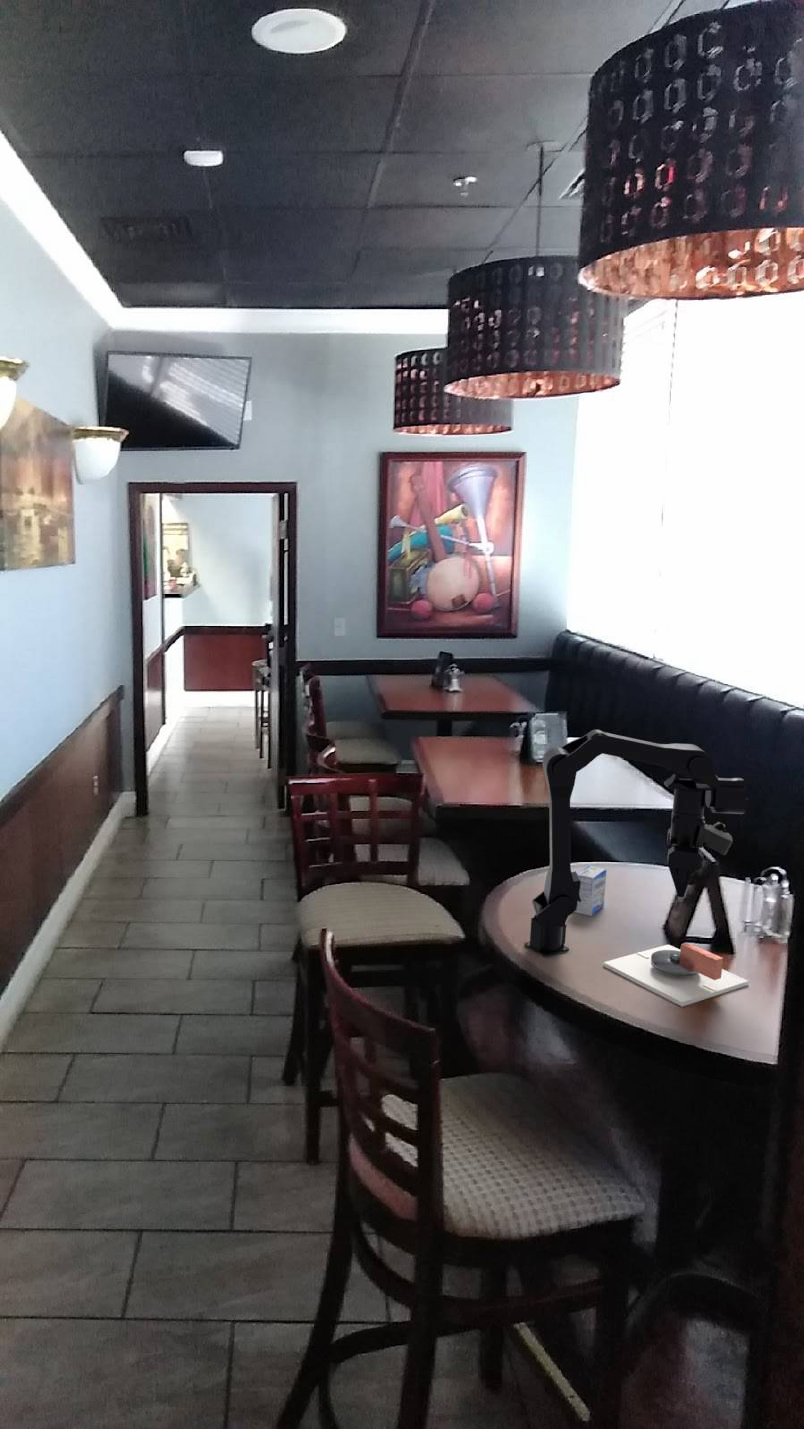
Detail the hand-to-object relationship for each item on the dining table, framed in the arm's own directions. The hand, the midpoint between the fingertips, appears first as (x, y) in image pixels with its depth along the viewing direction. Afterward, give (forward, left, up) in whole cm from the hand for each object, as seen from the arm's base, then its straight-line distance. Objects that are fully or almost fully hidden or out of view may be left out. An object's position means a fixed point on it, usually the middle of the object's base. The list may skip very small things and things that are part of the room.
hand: (680, 889), depth 194 cm
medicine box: (+3, +26, -14) cm, 30 cm away
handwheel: (-8, -9, -12) cm, 17 cm away
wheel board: (-7, -7, -14) cm, 17 cm away
